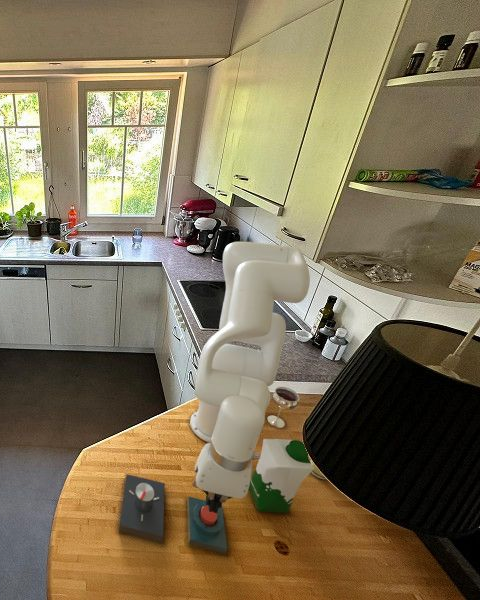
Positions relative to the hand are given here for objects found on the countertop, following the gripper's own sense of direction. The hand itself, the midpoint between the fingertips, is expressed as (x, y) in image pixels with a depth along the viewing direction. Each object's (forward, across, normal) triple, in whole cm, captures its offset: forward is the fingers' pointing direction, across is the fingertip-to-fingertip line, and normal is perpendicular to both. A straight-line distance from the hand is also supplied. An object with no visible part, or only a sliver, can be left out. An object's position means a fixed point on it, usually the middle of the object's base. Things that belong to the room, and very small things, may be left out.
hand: (212, 505), depth 73 cm
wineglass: (+9, -25, -40) cm, 48 cm away
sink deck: (+9, +15, -1) cm, 17 cm away
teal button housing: (+9, 0, -1) cm, 9 cm away
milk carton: (+9, -16, -12) cm, 22 cm away
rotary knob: (+6, +15, -1) cm, 16 cm away
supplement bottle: (+9, -32, -24) cm, 41 cm away
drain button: (+6, 0, -1) cm, 6 cm away
